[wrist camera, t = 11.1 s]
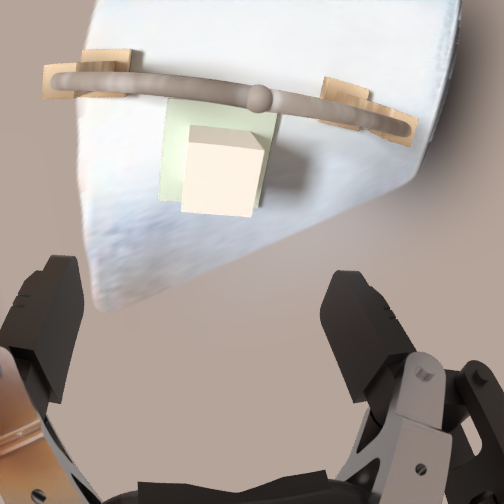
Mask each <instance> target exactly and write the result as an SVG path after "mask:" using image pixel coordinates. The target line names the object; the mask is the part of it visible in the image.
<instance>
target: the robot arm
mask: <svg viewBox="0 0 504 504" xmlns="http://www.w3.org/2000/svg"><path fill="white" fill-rule="evenodd" d="M83 312H84V295H83V290H82V285H81V279H80V273H79V267H78V262H77V259H76V257H75V256H65V255H52V256H50V258H49V260H48V262H47V264H46V265H45V267H44V269H43V271H35V272H34V273H33V274H32V275H31V276H29V277H28V278H27V279H26V280H25V281H24V283H23V285H22V287H21V289H20V291H19V292H18V296H16V298H15V300H14V302H13V306H12V307H11V308H10V310H9V312H8V314H7V316H6V319H5V321H4V323H3V325H2V327H1V329H0V494H1V496H2V498H3V500H4V502H5V504H442V501H443V496H444V492H445V495H446V498H447V501H448V504H504V392H503V390H502V388H501V387H500V385H499V383H498V381H497V380H496V378H495V376H494V374H493V373H492V371H491V370H490V369H489V368H488V367H487V366H486V365H485V364H483V363H482V362H479V361H476V360H472V361H469V362H468V363H467V364H466V365H465V366H464V367H463V368H462V370H461V371H454V370H446V369H444V368H443V366H442V365H441V363H440V362H439V361H438V360H437V359H436V358H434V357H433V356H431V355H430V354H427V353H425V352H417V351H416V349H415V347H414V346H413V344H412V343H411V341H410V339H409V337H408V336H407V334H406V332H405V331H404V329H403V327H402V326H401V324H400V323H399V321H398V319H396V316H395V315H394V313H393V312H392V310H390V307H389V305H388V303H387V302H386V300H385V299H384V297H383V296H382V295H381V294H380V293H378V292H377V291H376V290H375V289H374V288H373V287H371V286H369V285H368V283H367V282H366V280H365V279H364V277H363V275H362V274H361V273H360V272H359V271H340V270H338V271H336V272H335V273H334V274H333V277H332V279H331V282H330V285H329V287H328V289H327V292H326V295H325V297H324V300H323V302H322V305H321V308H320V320H321V324H322V327H323V329H324V332H325V334H326V336H327V339H328V341H329V344H330V346H331V348H332V351H333V353H334V356H335V358H336V361H337V363H338V365H339V368H340V370H341V373H342V375H343V378H344V380H345V383H346V385H347V388H348V390H349V393H350V395H351V398H352V400H353V403H358V402H364V401H367V402H368V404H369V407H368V408H367V410H366V412H365V414H364V417H363V420H362V423H361V426H360V429H359V432H358V435H357V437H356V440H355V443H354V445H353V448H352V451H351V453H350V456H349V458H348V460H347V462H346V463H345V465H344V466H343V467H342V469H341V470H340V472H339V473H338V475H337V477H336V478H335V480H333V479H328V478H327V474H326V471H325V470H322V471H316V472H311V473H306V474H299V475H293V476H287V477H282V478H279V479H277V480H274V481H272V482H269V483H266V484H264V485H261V486H258V487H255V488H252V489H249V490H246V491H243V492H239V493H232V492H226V491H220V490H215V489H209V488H204V487H199V486H194V485H190V484H177V483H176V484H175V483H151V482H138V490H137V491H131V492H127V493H124V494H120V495H118V496H115V497H112V498H110V499H108V500H107V501H105V502H103V501H102V500H101V498H100V497H99V496H98V494H97V493H96V492H95V490H94V489H93V488H92V486H91V485H90V484H89V482H88V481H87V479H86V478H85V477H84V476H83V474H82V473H81V472H80V470H79V469H78V467H77V466H76V464H75V463H74V461H73V460H72V458H71V457H70V455H69V453H68V451H67V450H66V448H65V446H64V445H63V443H62V441H61V439H60V438H59V436H58V434H57V432H56V430H55V429H54V427H53V425H52V423H51V421H50V419H49V417H48V415H47V414H46V412H47V407H48V402H52V403H58V404H61V401H62V396H63V391H64V387H65V382H66V378H67V373H68V369H69V365H70V361H71V357H72V353H73V349H74V345H75V341H76V338H77V334H78V331H79V327H80V324H81V320H82V317H83ZM469 416H471V418H472V420H473V422H474V424H475V427H476V429H477V431H478V433H479V435H480V438H481V440H482V449H481V451H480V453H479V454H478V455H477V456H475V455H474V454H473V451H472V449H471V447H470V444H469V442H468V440H467V438H466V435H465V433H464V431H463V428H462V426H461V423H462V422H463V421H464V420H465V419H466V418H467V417H469Z"/></svg>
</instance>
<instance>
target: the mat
mask: <svg viewBox="0 0 504 504" xmlns="http://www.w3.org/2000/svg"><path fill="white" fill-rule="evenodd" d="M277 114H278V113H271V112H264V113H253V112H251V111H249V110H248V109H244V108H239V107H234V106H228V105H222V104H216V103H210V102H203V101H197V100H186V99H174V98H168V101H167V109H166V118H165V126H164V136H163V146H162V156H161V168H160V181H159V196H158V200H162V201H176V202H182V193H183V181H184V171H185V162H186V153H187V144H188V136H189V128H190V125H199V126H209V127H218V128H227V129H236V130H243V131H250V132H251V133H252V134H253V136H254V137H255V138H256V140H257V141H258V142H259V144H260V145H261V146H262V148H263V149H264V156H263V161H262V166H261V171H260V176H259V181H258V186H257V191H256V196H255V201H254V206H253V208H258V204H259V199H260V194H261V189H262V185H263V180H264V175H265V170H266V166H267V161H268V156H269V151H270V147H271V142H272V137H273V133H274V128H275V123H276V118H277Z"/></svg>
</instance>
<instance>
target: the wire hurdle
mask: <svg viewBox="0 0 504 504" xmlns="http://www.w3.org/2000/svg"><path fill="white" fill-rule="evenodd" d="M131 56H132V49H93V50H82V58H81V62H74V63H73V62H72V63H60V64H50V65H44V74H43V75H44V76H43V90H42V100H55V99H74V98H77V97H126V96H127V93H134V94H146V95H156V96H165V97H174V98H182V99H190V100H197V101H203V102H210V103H216V104H222V105H228V106H234V107H239V108H244V109H248V110H249V111H251V112H253V113H264V112H271V113H279V114H287V115H294V116H301V117H307V118H314V119H315V120H317V121H319V122H324V123H328V124H332V125H337V126H341V127H345V128H349V129H353V130H357V131H359V129H360V127H362V128H364V129H366V130H368V131H370V132H372V133H374V134H376V135H378V136H380V137H382V138H384V139H385V140H388V141H392V142H395V143H398V144H401V145H405V146H408V147H411V144H412V140H413V137H414V134H415V130H416V127H417V123H418V120H419V119H418V118H415V117H413V116H410V115H407V114H405V113H402V112H399V111H397V110H394V109H391V108H388V107H386V106H383V105H380V104H377V103H374V102H371V101H368V100H367V99H368V95H369V91H370V90H369V89H366V88H363V87H359V86H356V85H353V84H350V83H346V82H343V81H340V80H336V79H333V78H329V77H324V82H323V86H322V90H321V95H320V98H316V97H311V96H306V95H301V94H296V93H291V92H286V91H280V90H274V89H269V88H267V87H266V86H263V85H253V86H251V85H245V84H239V83H233V82H227V81H220V80H213V79H205V78H197V77H188V76H178V75H167V74H154V73H136V72H129V71H130V63H131Z"/></svg>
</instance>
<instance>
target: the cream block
mask: <svg viewBox="0 0 504 504" xmlns="http://www.w3.org/2000/svg"><path fill="white" fill-rule="evenodd" d="M263 156H264V149H263V148H262V146H261V145H260V144H259V142H258V141H257V140H256V138H255V137H254V136H253V134H252V133H251V132H250V131H243V130H236V129H227V128H218V127H209V126H199V125H190V128H189V136H188V144H187V153H186V162H185V171H184V181H183V193H182V206H181V212H190V213H204V214H217V215H230V216H242V217H251V216H252V211H253V206H254V201H255V196H256V191H257V186H258V181H259V176H260V171H261V166H262V161H263Z"/></svg>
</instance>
